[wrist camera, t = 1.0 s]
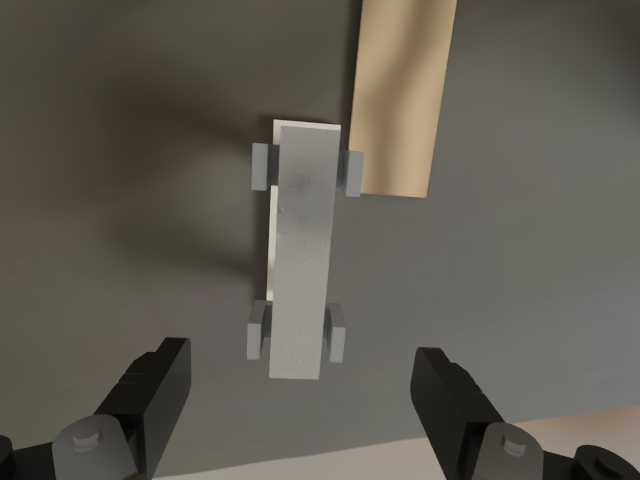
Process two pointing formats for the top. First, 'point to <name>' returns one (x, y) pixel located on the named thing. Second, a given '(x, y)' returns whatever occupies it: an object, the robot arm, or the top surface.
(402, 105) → the mat
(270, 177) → the rail stand
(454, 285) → the top surface
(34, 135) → the top surface
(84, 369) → the top surface
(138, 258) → the top surface
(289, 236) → the rail
